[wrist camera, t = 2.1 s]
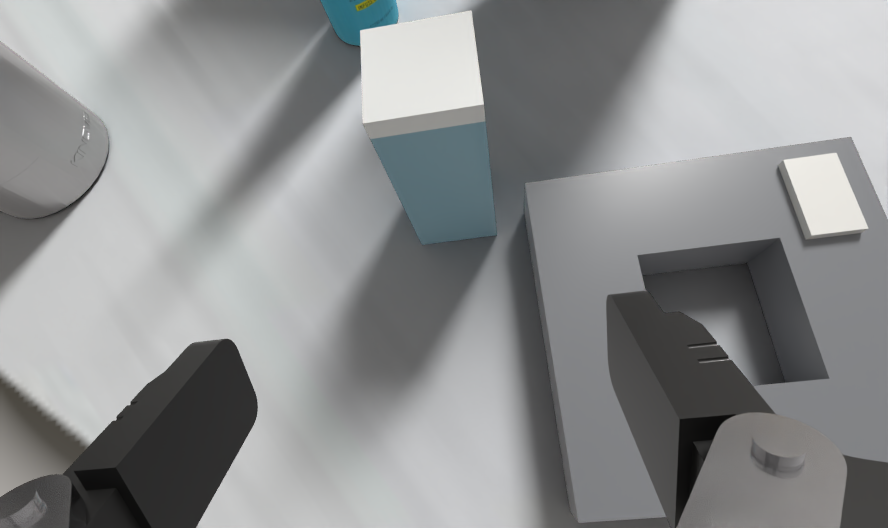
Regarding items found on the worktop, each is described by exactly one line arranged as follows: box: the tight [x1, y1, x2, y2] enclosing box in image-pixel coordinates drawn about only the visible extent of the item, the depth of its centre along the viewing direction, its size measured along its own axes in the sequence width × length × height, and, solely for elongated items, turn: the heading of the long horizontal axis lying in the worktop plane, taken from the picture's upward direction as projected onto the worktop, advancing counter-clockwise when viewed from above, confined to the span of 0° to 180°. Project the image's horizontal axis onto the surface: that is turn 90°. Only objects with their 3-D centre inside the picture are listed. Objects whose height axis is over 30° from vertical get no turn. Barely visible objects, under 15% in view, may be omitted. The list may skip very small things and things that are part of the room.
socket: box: [524, 137, 888, 523], centre depth 23 cm, size 16×16×4 cm
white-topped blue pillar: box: [360, 11, 497, 245], centre depth 24 cm, size 4×4×12 cm
